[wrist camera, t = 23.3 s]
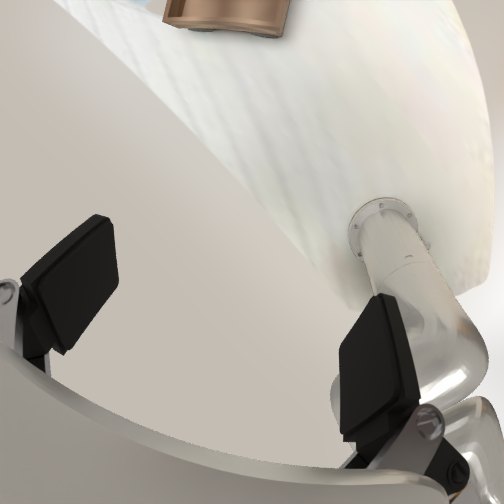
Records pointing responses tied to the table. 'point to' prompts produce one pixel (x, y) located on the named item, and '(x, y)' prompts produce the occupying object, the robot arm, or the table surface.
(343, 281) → the table surface
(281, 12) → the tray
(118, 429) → the robot arm
